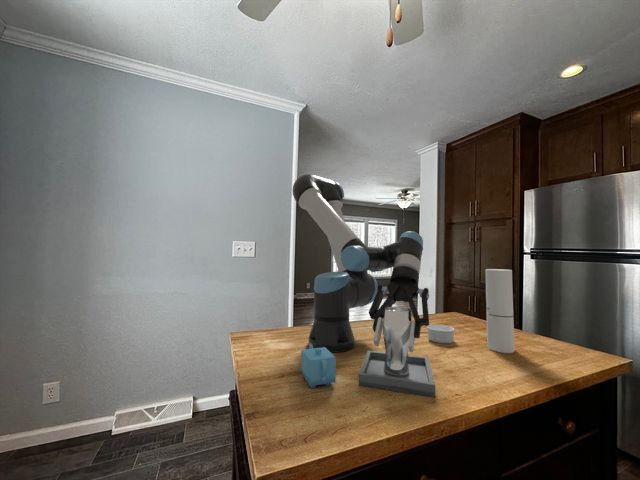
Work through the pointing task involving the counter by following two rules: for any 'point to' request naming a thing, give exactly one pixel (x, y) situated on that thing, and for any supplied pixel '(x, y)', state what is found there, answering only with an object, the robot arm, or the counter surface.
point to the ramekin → (440, 333)
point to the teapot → (318, 366)
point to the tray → (412, 383)
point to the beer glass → (396, 339)
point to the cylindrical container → (499, 310)
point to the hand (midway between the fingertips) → (392, 346)
